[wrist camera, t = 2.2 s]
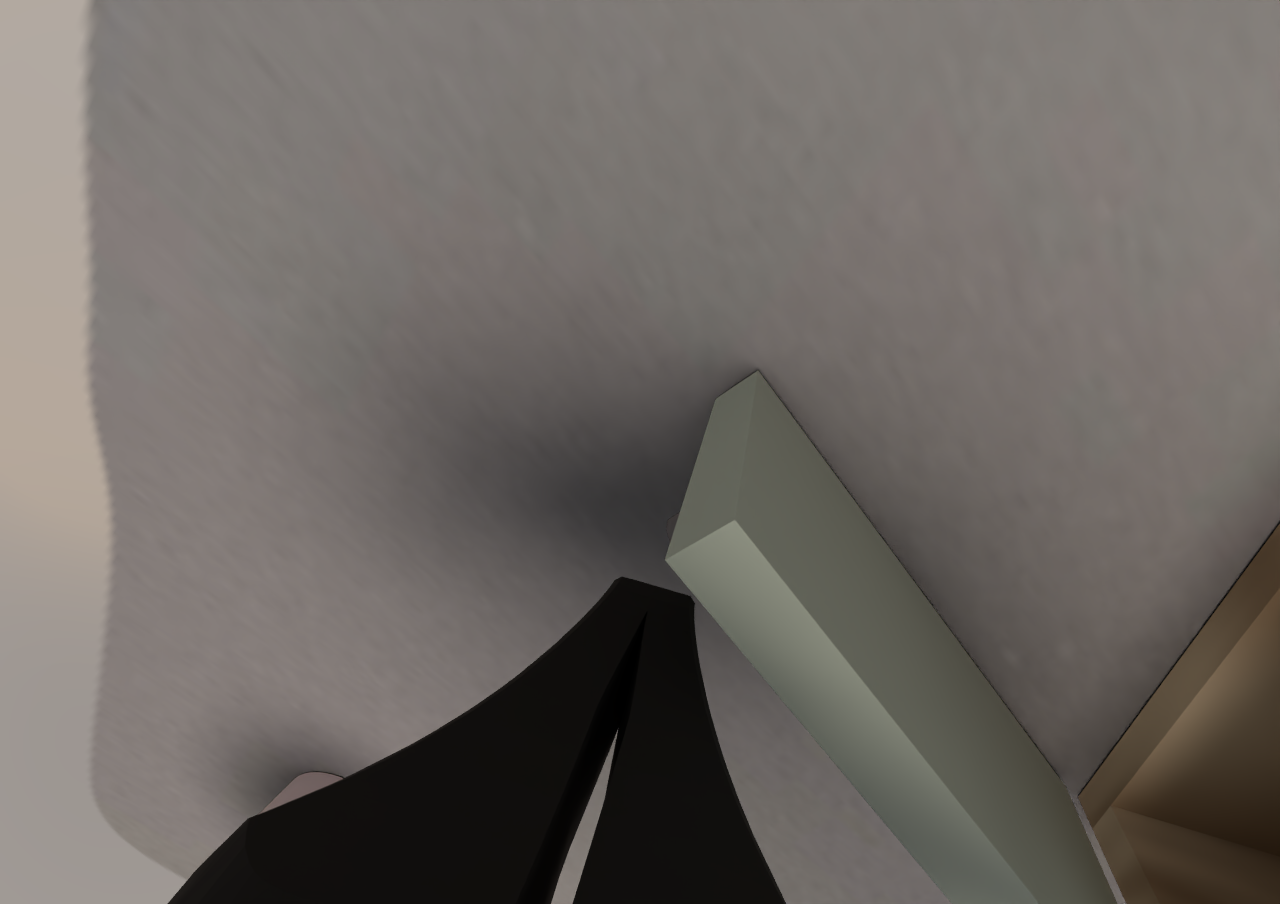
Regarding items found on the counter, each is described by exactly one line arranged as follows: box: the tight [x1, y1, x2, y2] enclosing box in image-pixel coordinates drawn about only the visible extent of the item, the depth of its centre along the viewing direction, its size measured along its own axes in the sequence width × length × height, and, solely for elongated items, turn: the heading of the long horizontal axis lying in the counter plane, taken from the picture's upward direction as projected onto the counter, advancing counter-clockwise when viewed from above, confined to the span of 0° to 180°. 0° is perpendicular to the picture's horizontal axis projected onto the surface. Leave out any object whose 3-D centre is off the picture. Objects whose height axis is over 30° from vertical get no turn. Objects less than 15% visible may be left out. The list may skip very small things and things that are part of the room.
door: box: [665, 371, 1117, 904], centre depth 11 cm, size 12×2×6 cm, turn 39°
